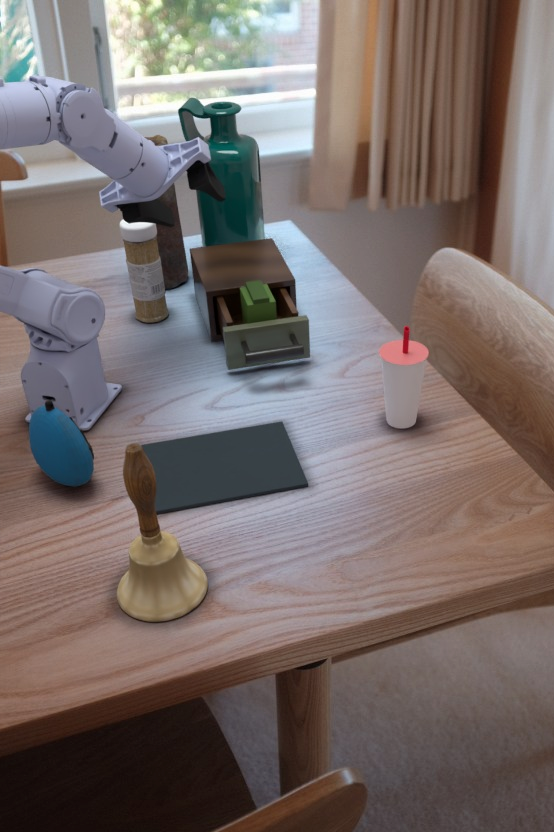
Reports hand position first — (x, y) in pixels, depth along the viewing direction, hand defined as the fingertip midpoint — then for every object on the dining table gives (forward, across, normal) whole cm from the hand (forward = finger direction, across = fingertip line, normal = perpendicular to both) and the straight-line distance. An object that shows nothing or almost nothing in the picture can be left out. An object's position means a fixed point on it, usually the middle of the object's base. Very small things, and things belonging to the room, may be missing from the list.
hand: (196, 206), depth 111 cm
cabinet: (+15, +4, +7) cm, 17 cm away
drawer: (+9, 0, +16) cm, 19 cm away
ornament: (-14, +13, +34) cm, 39 cm away
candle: (+16, +17, -3) cm, 24 cm away
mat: (-5, -1, +35) cm, 35 cm away
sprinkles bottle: (+9, +15, +6) cm, 19 cm away
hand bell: (-18, 0, +49) cm, 52 cm away
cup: (+9, -17, +32) cm, 37 cm away
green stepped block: (+9, -1, +15) cm, 17 cm away
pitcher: (+25, +10, -8) cm, 28 cm away
